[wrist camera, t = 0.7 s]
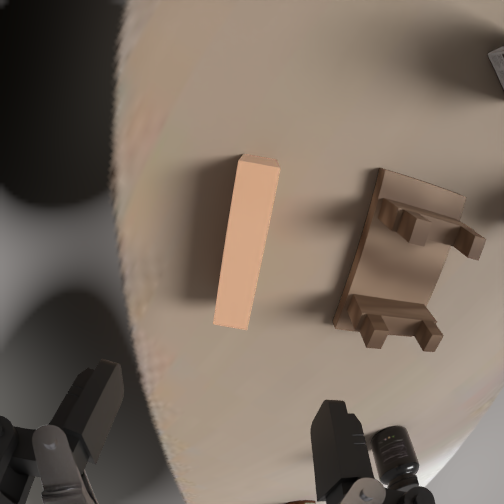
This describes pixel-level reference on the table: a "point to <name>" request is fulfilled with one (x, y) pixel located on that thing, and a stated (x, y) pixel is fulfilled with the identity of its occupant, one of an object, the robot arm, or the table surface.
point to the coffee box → (498, 63)
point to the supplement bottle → (395, 458)
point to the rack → (403, 260)
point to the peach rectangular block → (245, 239)
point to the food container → (302, 502)
